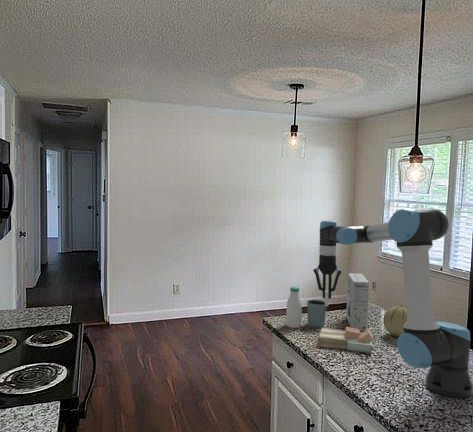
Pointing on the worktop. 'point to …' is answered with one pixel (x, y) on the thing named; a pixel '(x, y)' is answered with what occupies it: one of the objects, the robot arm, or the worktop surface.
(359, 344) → the tray
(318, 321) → the grey-blue hollow tapered cylinder
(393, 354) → the worktop surface
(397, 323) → the cantaloupe
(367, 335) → the tile
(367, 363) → the worktop surface
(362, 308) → the cereal box
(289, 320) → the milk bottle
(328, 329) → the board
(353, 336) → the tile
